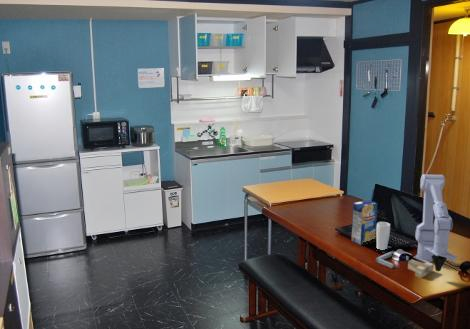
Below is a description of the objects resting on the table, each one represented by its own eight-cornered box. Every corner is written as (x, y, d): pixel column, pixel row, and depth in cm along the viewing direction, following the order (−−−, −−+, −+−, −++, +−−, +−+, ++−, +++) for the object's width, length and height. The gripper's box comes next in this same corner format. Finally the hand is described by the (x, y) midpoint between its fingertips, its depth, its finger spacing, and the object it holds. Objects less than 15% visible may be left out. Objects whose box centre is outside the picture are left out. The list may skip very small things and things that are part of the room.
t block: (415, 264, 220) (416, 257, 219) (432, 271, 213) (433, 264, 212) (403, 270, 214) (404, 263, 213) (421, 277, 207) (421, 270, 206)
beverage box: (351, 240, 248) (353, 203, 243) (365, 236, 254) (368, 199, 248) (360, 245, 243) (362, 206, 237) (374, 240, 248) (377, 203, 243)
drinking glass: (385, 247, 239) (387, 221, 235) (390, 253, 232) (392, 226, 229) (373, 248, 239) (374, 221, 235) (377, 253, 232) (379, 226, 229)
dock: (392, 253, 232) (392, 250, 231) (408, 260, 225) (408, 256, 224) (375, 261, 223) (375, 258, 223) (391, 268, 216) (392, 264, 216)
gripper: (421, 239, 205) (418, 267, 208) (452, 250, 194) (449, 279, 197) (429, 236, 209) (426, 262, 212) (460, 246, 198) (457, 274, 201)
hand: (438, 270), depth 205 cm, fingers closed
